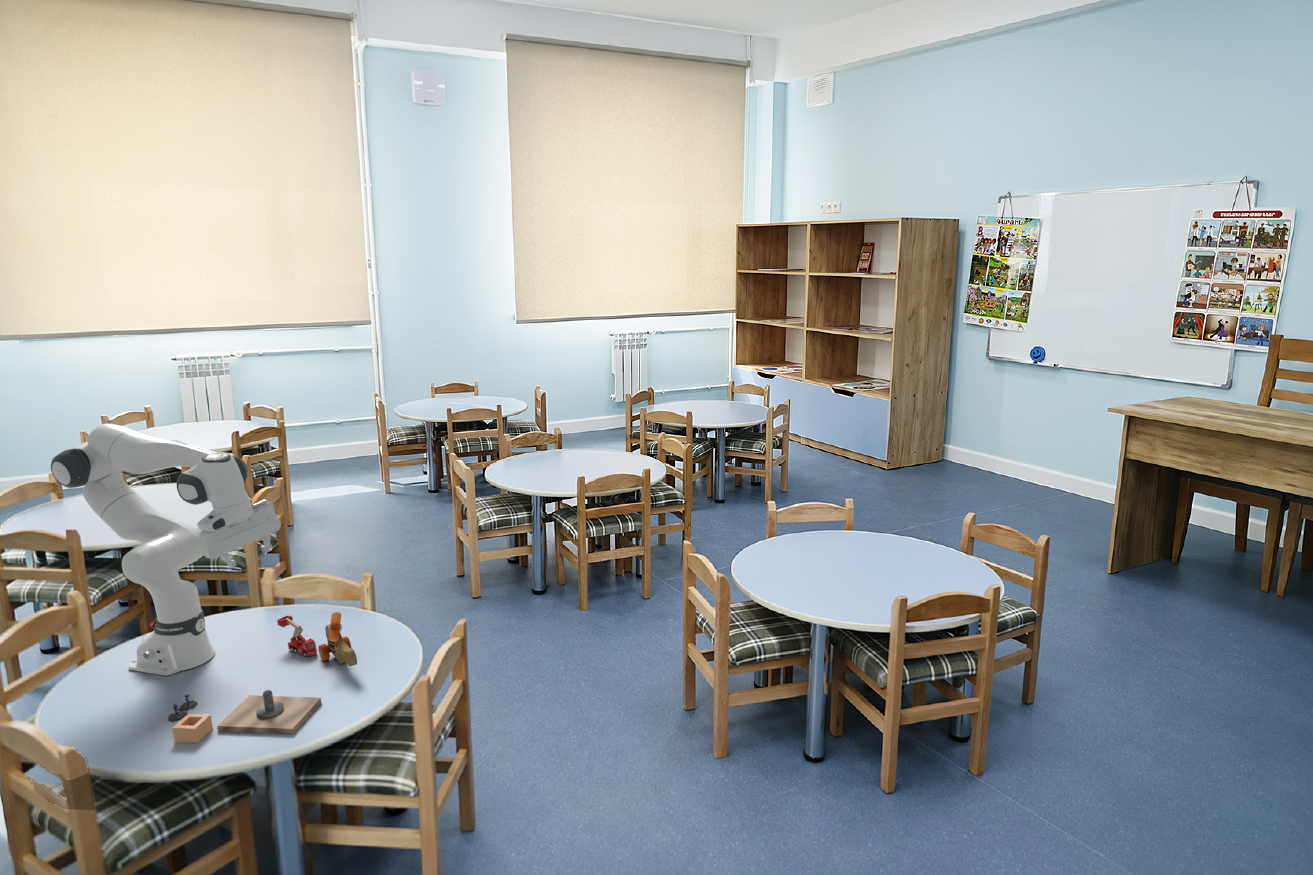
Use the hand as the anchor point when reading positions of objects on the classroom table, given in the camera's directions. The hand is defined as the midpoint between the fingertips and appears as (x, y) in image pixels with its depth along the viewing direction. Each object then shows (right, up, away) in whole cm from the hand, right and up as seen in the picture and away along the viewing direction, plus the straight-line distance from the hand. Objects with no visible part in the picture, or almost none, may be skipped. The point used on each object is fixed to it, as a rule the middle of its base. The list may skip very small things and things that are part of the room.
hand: (249, 559), depth 220 cm
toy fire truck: (+3, -31, +25) cm, 40 cm away
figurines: (-15, -40, -6) cm, 43 cm away
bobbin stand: (+10, -39, -9) cm, 42 cm away
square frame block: (-6, -41, -16) cm, 45 cm away
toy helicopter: (+19, -33, +16) cm, 41 cm away
